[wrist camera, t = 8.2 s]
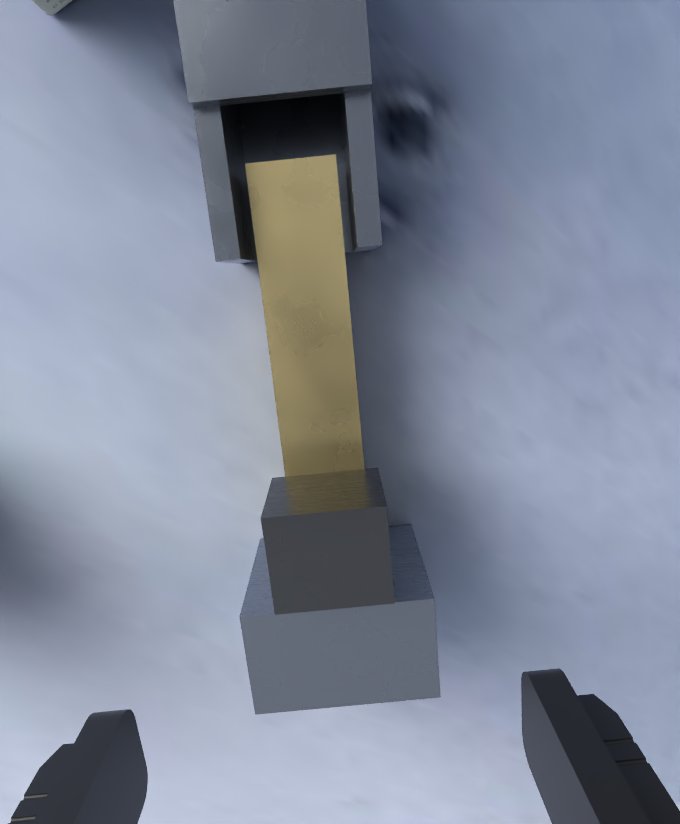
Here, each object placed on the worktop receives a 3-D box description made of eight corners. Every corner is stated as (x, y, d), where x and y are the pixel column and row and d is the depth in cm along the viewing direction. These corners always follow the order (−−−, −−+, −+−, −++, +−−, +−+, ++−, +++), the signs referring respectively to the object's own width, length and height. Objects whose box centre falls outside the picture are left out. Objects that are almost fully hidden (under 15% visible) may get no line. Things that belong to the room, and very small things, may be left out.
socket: (260, 538, 26) (239, 617, 20) (411, 524, 26) (434, 598, 20) (271, 617, 27) (255, 714, 21) (416, 604, 27) (440, 697, 21)
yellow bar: (243, 179, 21) (206, 141, 15) (348, 168, 21) (355, 125, 15) (298, 596, 26) (287, 703, 19) (384, 588, 26) (402, 692, 19)
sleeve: (198, -36, 20) (151, -146, 15) (347, -52, 20) (353, -168, 15) (240, 263, 23) (211, 261, 17) (371, 250, 23) (384, 243, 17)
